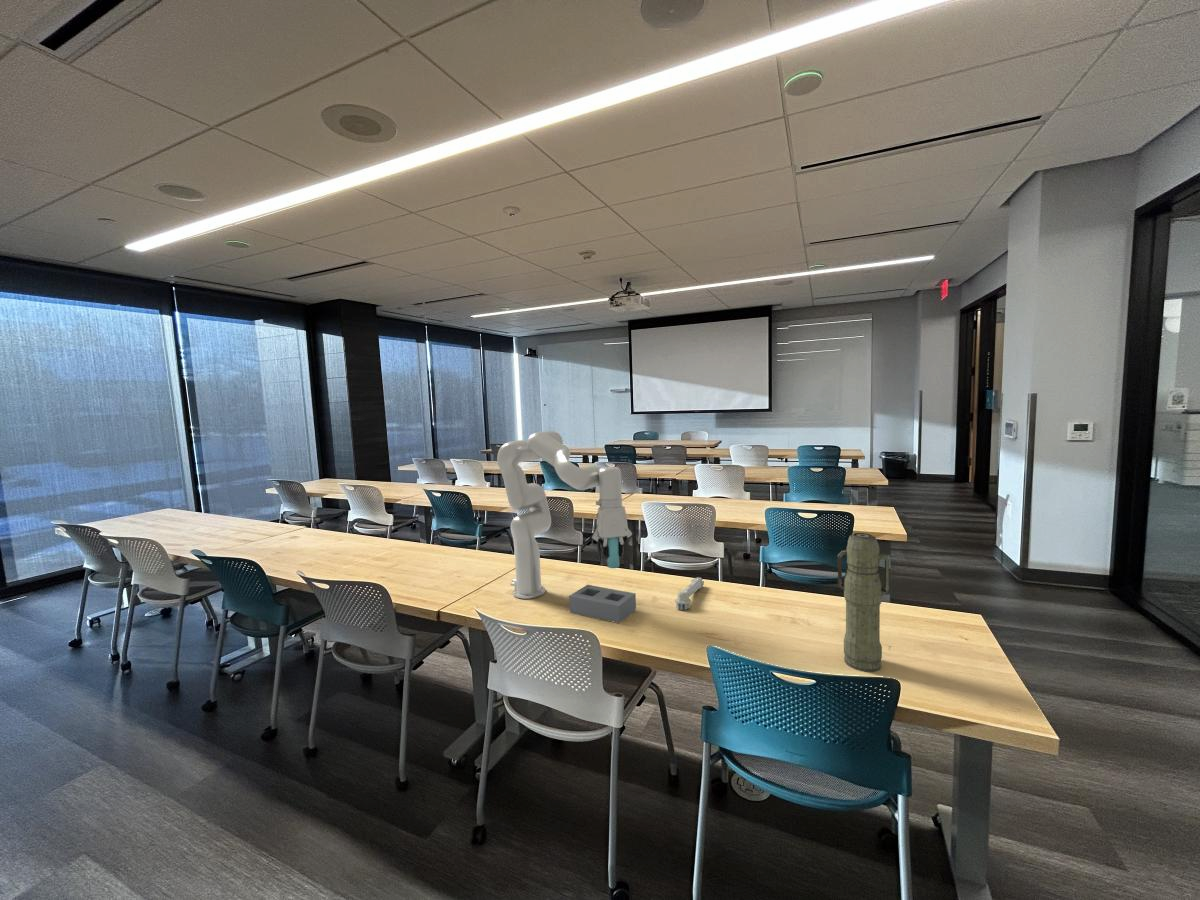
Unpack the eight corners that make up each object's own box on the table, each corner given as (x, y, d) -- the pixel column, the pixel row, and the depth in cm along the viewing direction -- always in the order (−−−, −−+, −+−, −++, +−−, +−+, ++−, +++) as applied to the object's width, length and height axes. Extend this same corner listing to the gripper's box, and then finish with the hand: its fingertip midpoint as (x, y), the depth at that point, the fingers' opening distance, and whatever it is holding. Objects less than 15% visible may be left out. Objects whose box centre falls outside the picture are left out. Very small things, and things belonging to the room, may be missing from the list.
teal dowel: (605, 567, 164) (604, 532, 163) (611, 563, 168) (610, 530, 167) (615, 569, 162) (614, 534, 161) (621, 565, 166) (620, 531, 165)
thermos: (836, 651, 135) (836, 529, 132) (884, 658, 131) (885, 532, 128) (838, 667, 127) (838, 538, 124) (890, 675, 123) (891, 541, 120)
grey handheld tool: (705, 577, 188) (688, 591, 165) (705, 594, 188) (687, 611, 165) (692, 575, 190) (673, 589, 168) (692, 592, 190) (673, 608, 167)
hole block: (569, 612, 169) (569, 595, 169) (588, 600, 179) (587, 584, 179) (619, 623, 159) (618, 606, 158) (636, 610, 169) (635, 593, 168)
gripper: (589, 507, 158) (591, 562, 159) (637, 503, 162) (639, 556, 163) (584, 503, 165) (586, 555, 166) (631, 499, 169) (633, 550, 170)
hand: (613, 555), depth 165 cm, fingers closed on teal dowel, 4 cm apart
